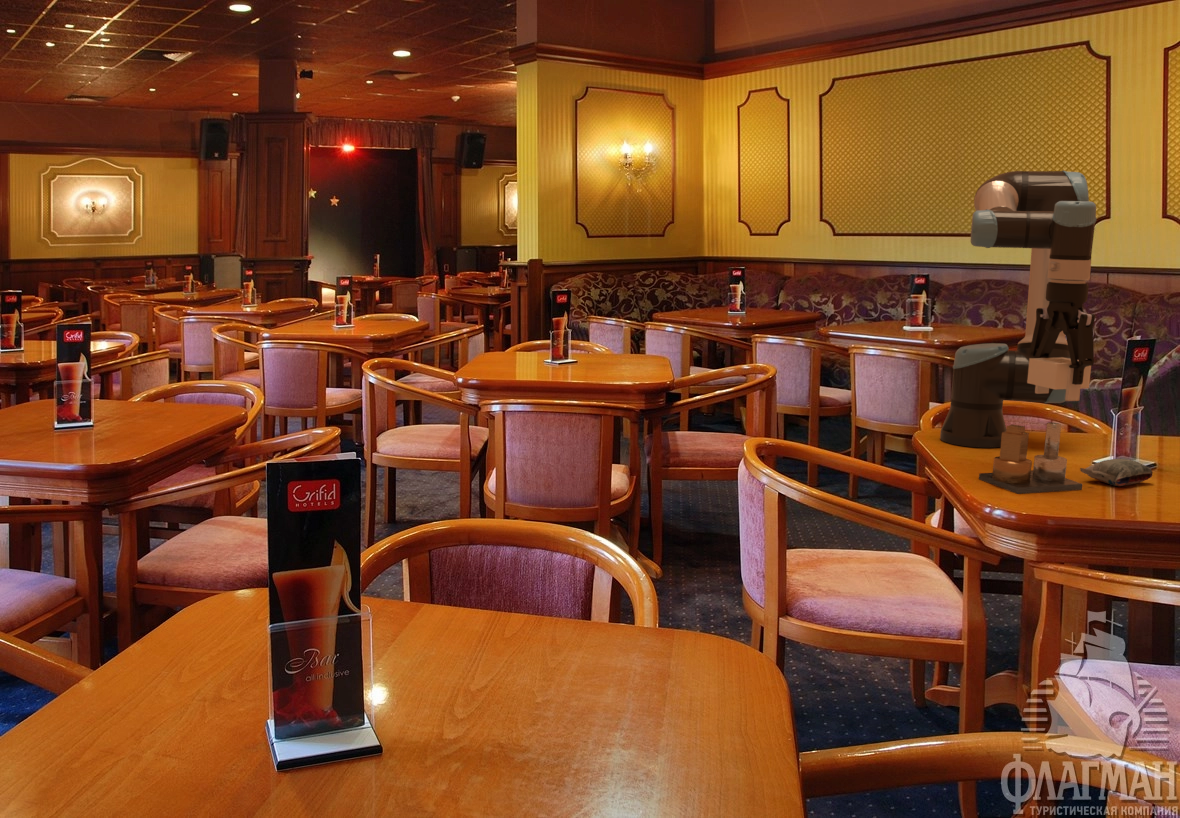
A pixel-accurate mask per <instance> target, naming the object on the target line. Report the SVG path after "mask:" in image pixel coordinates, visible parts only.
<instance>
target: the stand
mask: <svg viewBox="0 0 1180 818" xmlns="http://www.w3.org/2000/svg"><path fill="white" fill-rule="evenodd" d="M1061 428H1062V423H1058V422H1046V428H1045V429H1046V431H1045V441H1044V450H1043V451H1044V452H1043V454H1037V455H1034V461H1033V469H1032V470H1033V477H1035V478H1037V479H1041V480H1047V481H1063V480H1065V478H1066V472H1067V463H1068V462H1067V461H1068V459H1067V458H1066V457H1063V456H1060V455H1059V451H1060V450H1059V449H1060V440H1061V430H1062V429H1061Z"/></svg>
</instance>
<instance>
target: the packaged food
mask: <svg viewBox="0 0 1180 818" xmlns="http://www.w3.org/2000/svg"><path fill="white" fill-rule="evenodd" d="M1079 470H1080V472H1081V473H1082V474H1084V475H1087V476H1088V478H1089V477H1090V478H1091V479H1094V480H1096V481H1099V482H1102V483H1105V484H1108V485H1111V486H1113V487H1124V486H1129V485H1130V486H1131V485H1135V484H1139V483H1142V482H1144V481H1148V480H1149V479H1150V478H1151V479H1152V478H1153V470H1152V469H1151V467H1149V466H1147V465H1144V464H1143V463H1140V462H1139V461H1136V460H1132V459H1124V458H1113V459H1105V460H1101V461H1099V462H1095V463H1094V464H1092V465H1089V466H1088V467H1085V468H1084V467H1083V468H1082V467H1080V469H1079Z"/></svg>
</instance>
